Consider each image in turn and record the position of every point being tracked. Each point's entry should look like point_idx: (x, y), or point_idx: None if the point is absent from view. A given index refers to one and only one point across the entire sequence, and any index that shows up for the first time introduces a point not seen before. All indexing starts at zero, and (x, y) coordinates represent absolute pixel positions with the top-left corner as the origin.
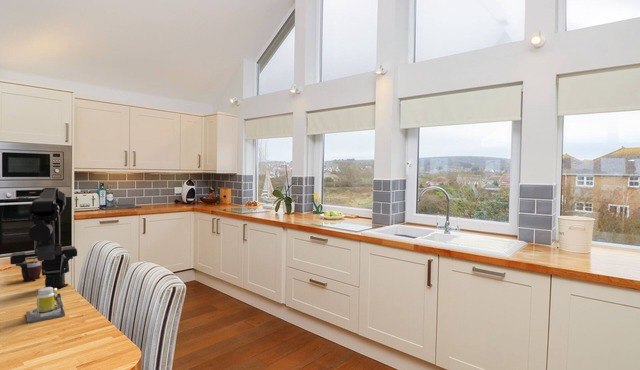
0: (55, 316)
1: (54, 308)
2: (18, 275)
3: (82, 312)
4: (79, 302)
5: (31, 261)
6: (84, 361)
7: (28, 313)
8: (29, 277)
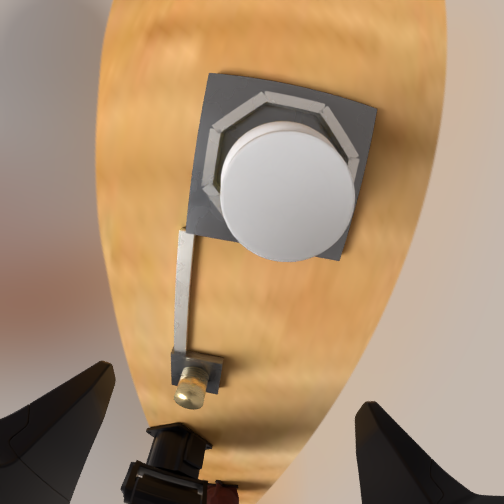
0: (254, 80)
1: None
2: None
3: (137, 71)
4: (115, 238)
5: None
6: None
7: None
8: (378, 425)
